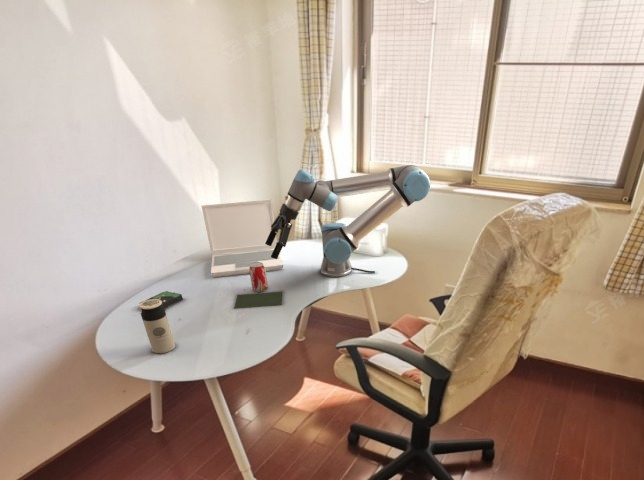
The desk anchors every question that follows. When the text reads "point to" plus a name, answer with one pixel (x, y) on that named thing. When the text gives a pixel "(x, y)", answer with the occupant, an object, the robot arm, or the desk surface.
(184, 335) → the desk surface
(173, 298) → the disk drive
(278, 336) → the desk surface
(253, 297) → the mat
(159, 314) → the travel mug
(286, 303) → the desk surface
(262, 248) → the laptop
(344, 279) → the desk surface
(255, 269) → the soda can
